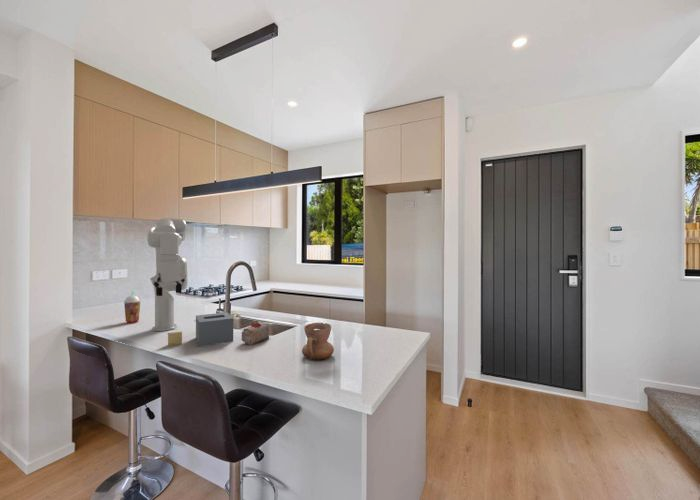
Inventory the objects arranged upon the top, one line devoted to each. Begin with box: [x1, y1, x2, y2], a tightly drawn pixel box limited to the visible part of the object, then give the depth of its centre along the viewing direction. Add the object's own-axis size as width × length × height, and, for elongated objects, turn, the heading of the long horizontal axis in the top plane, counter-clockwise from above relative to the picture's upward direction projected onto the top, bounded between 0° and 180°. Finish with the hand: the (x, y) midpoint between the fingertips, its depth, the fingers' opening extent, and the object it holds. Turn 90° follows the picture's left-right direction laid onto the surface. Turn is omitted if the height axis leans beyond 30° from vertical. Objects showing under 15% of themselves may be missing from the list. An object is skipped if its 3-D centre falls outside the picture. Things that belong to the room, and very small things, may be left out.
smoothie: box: [123, 290, 141, 324], centre depth 190 cm, size 8×8×20 cm
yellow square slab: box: [167, 331, 183, 347], centre depth 150 cm, size 2×6×6 cm, turn 123°
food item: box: [241, 321, 270, 346], centre depth 157 cm, size 14×8×10 cm, turn 152°
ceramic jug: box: [301, 322, 335, 361], centre depth 136 cm, size 18×14×14 cm
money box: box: [195, 312, 234, 347], centre depth 159 cm, size 16×16×12 cm
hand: (169, 294), depth 142 cm, fingers open, 9 cm apart
